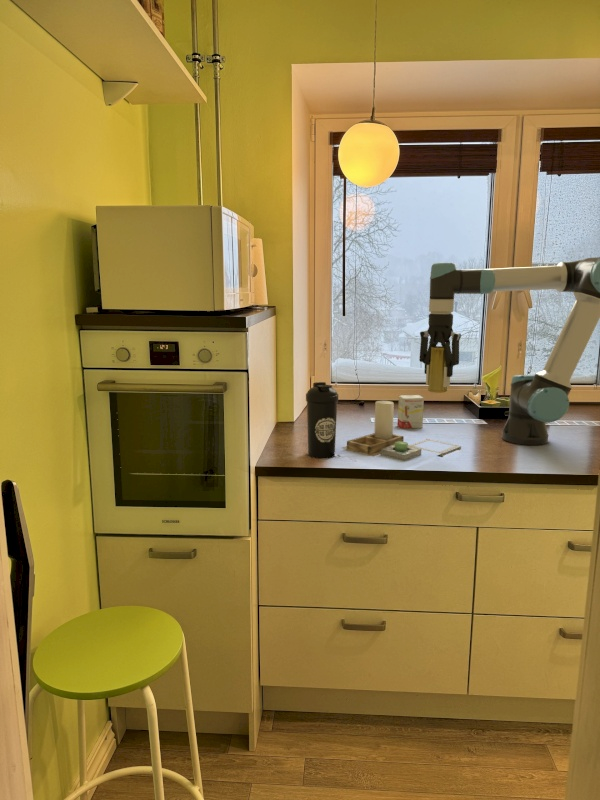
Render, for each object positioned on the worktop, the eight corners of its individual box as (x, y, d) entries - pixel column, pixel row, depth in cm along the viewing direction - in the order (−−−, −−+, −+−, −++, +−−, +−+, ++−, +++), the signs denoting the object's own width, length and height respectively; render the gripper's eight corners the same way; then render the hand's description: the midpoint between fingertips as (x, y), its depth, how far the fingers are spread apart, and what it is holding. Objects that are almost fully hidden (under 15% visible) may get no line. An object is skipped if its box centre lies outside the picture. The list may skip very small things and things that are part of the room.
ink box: (401, 428, 221) (402, 398, 219) (397, 425, 226) (398, 395, 224) (423, 428, 223) (424, 397, 220) (418, 424, 227) (419, 394, 225)
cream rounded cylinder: (395, 443, 197) (397, 402, 194) (385, 447, 193) (386, 405, 190) (381, 440, 201) (382, 399, 198) (370, 443, 197) (371, 402, 194)
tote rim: (460, 449, 194) (461, 446, 194) (441, 457, 186) (441, 453, 186) (427, 442, 203) (427, 438, 203) (407, 448, 195) (407, 445, 195)
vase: (444, 389, 194) (446, 345, 191) (449, 392, 188) (451, 348, 185) (425, 389, 193) (427, 346, 191) (430, 392, 187) (432, 348, 185)
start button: (410, 449, 184) (410, 443, 184) (402, 451, 181) (403, 445, 181) (399, 446, 187) (399, 440, 187) (392, 449, 184) (392, 443, 184)
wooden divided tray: (408, 447, 196) (408, 437, 195) (373, 459, 183) (373, 448, 182) (377, 440, 205) (377, 430, 204) (341, 451, 192) (341, 440, 191)
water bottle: (311, 460, 182) (311, 387, 177) (301, 451, 191) (302, 381, 187) (341, 458, 185) (343, 385, 180) (331, 449, 194) (332, 380, 190)
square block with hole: (421, 458, 185) (421, 449, 184) (404, 464, 178) (404, 454, 178) (397, 452, 191) (397, 443, 190) (380, 458, 185) (380, 448, 184)
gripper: (474, 313, 182) (469, 387, 186) (422, 311, 195) (419, 380, 199) (461, 314, 177) (457, 390, 181) (409, 312, 189) (406, 383, 194)
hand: (437, 385), depth 190 cm, fingers closed on vase, 6 cm apart
